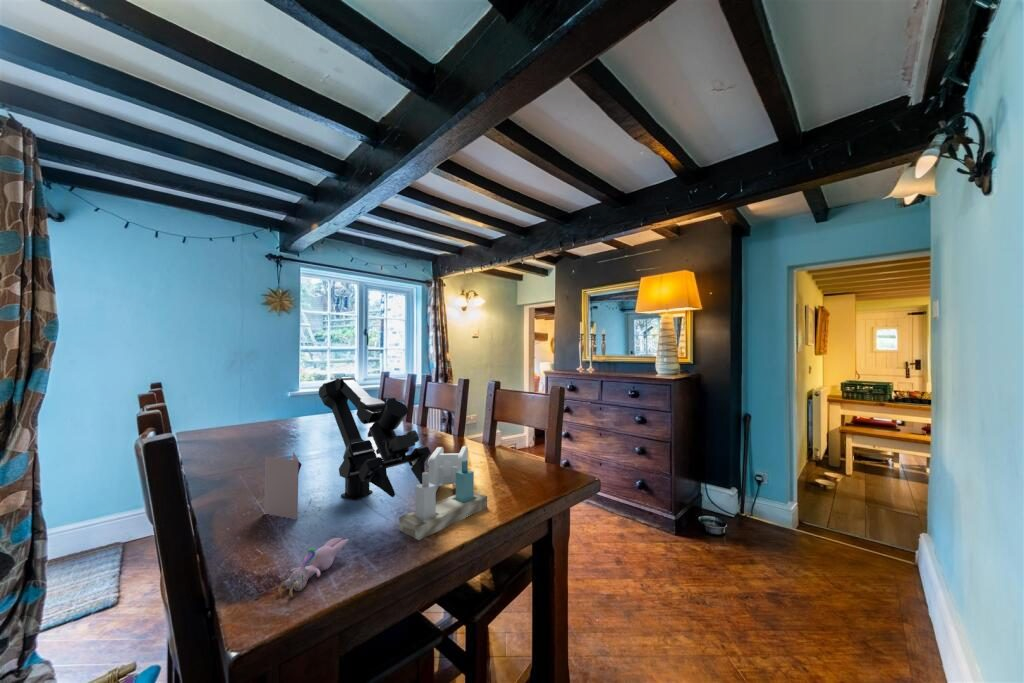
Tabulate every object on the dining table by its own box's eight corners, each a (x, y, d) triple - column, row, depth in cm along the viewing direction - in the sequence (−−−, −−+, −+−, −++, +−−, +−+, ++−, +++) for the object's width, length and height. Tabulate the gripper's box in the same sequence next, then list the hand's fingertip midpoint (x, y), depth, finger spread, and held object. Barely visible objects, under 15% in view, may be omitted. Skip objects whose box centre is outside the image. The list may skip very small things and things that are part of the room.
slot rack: (419, 540, 81) (419, 526, 81) (399, 529, 86) (399, 517, 86) (487, 507, 98) (487, 496, 98) (467, 500, 103) (467, 489, 103)
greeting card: (301, 519, 92) (302, 459, 92) (266, 527, 87) (267, 465, 88) (295, 504, 101) (296, 450, 102) (263, 511, 96) (264, 455, 97)
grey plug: (415, 528, 87) (415, 473, 87) (426, 523, 89) (426, 470, 90) (423, 532, 84) (424, 476, 85) (435, 527, 87) (435, 472, 88)
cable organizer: (462, 496, 106) (462, 457, 106) (426, 497, 106) (426, 457, 106) (468, 479, 121) (468, 444, 121) (436, 479, 121) (436, 444, 121)
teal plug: (464, 513, 95) (464, 463, 95) (455, 510, 97) (455, 461, 97) (473, 509, 97) (473, 460, 98) (465, 505, 99) (464, 458, 100)
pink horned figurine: (300, 607, 61) (358, 548, 76) (296, 575, 61) (355, 521, 75) (271, 601, 63) (333, 544, 77) (266, 570, 62) (330, 518, 77)
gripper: (365, 427, 88) (389, 483, 81) (427, 417, 102) (453, 463, 95) (348, 454, 93) (370, 509, 85) (410, 440, 107) (433, 486, 100)
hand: (409, 490), depth 91 cm, fingers open, 9 cm apart
